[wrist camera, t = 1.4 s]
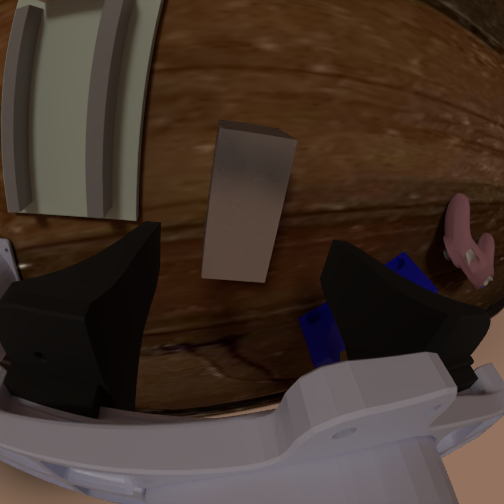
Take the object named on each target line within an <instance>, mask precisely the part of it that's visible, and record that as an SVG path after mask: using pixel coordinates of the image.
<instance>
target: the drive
mask: <svg viewBox="0 0 504 504" xmlns="http://www.w3.org/2000/svg"><path fill="white" fill-rule="evenodd" d="M297 141H298V140H296V139H295V138H293V137H292V136H290V135H288V134H287V133H285V132H284V131H282V130H281V129H279V128H275V127H269V126H263V125H257V124H250V123H243V122H236V121H229V120H221V119H219V123H218V130H217V136H216V143H215V150H214V157H213V164H212V171H211V179H210V187H209V195H208V203H207V212H206V220H205V229H204V239H203V255H202V275H201V278H209V279H222V280H235V281H248V282H263V283H265V279H266V275H267V271H268V267H269V263H270V258H271V254H272V250H273V246H274V242H275V237H276V233H277V229H278V225H279V220H280V216H281V212H282V207H283V203H284V199H285V194H286V190H287V186H288V181H289V177H290V172H291V168H292V163H293V159H294V154H295V150H296V145H297Z"/></svg>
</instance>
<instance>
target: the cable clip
mask: <svg viewBox="0 0 504 504" xmlns="http://www.w3.org/2000/svg"><path fill="white" fill-rule="evenodd" d="M385 266H387V267H388V268H390V269H391V270H393V271H395V272H396V273H398V274H399V275H401V276H403V277H404V278H406V279H408V280H410V281H412V282H414V283H415V284H417V285H419V286H421V287H423V288H425V289H428V290H430V291H432V292H435V293H437V294H438V291H437V288H436V287H435V286H434V285H433V284H432V283H431V281H430V280H429V279H428V278H427V277H426V276H425V274H424V273H423V272H422V271H421V270H420V269H419V268H418V267H417V265H416V264H415V263H414V262H413V261H412V260H411V259H410V258H409V257H408V256H407V255H406V253H405V252H403V253H401V254H400V255H398V256H397V257H395V258H394V259H393V260H391V261H390V262H388V263H387V264H385ZM298 319H299V322H300V325H301V328H302V331H303V334H304V337H305V340H306V343H307V346H308V349H309V352H310V355H311V358H312V361H313V364H314V366H315V367H316V368H318V367H320V366H323V365H328V364H332V363H336V362H340V352H341V351H343V350H345V345H344V342H343V339H342V336H341V334H340V332H339V329H338V327H337V325H336V322H335V320H334V318H333V315H332V313H331V311H330V308H329V306H328V304H327V302H325V303H324V304H322V305H320V306H319V307H317V308H315V309H314V310H312V311H310V312H309V313H307V314H305V315H303V316H302V317H300V318H298Z"/></svg>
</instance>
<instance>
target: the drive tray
mask: <svg viewBox="0 0 504 504" xmlns="http://www.w3.org/2000/svg"><path fill="white" fill-rule="evenodd" d="M163 3H164V0H19V1H18V4H17V8H16V12H15V16H14V20H13V24H12V29H11V33H10V38H9V44H8V50H7V56H6V63H5V71H4V80H3V92H2V112H1V142H2V162H3V174H4V184H5V192H6V200H7V207H8V212H18V213H34V214H50V215H65V216H79V217H93V218H106V219H118V220H130V221H136V220H137V218H138V216H139V178H140V158H141V144H142V132H143V121H144V111H145V103H146V95H147V87H148V80H149V73H150V67H151V61H152V55H153V49H154V44H155V39H156V34H157V29H158V24H159V20H160V15H161V11H162V7H163Z"/></svg>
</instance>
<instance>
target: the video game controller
mask: <svg viewBox="0 0 504 504" xmlns="http://www.w3.org/2000/svg"><path fill="white" fill-rule="evenodd" d="M444 229H445V235H444V237H443V239H444V244H445V247H446V249H444V256H445V258H446V259H447V260H448V261H450V258H451V260H452V262H453V263H454V265H455V266H456V267H457V268H461V269H462V270H463V272H464V273H465V275H466V276H467V278H468V279H469V280H470V281H471V283H472V284H473V286H474V287H475V289H481V288H483V287H484V286H486V285H487V284H488V282H489V281H490V280H492V281H493V279H492V276H493V274H494V270H493V258H494V240H493V237H492V236H491V235H490V234H489V233H483V234H482V235H481V236H480V238H479V239H478V241H477V244H476V243H475V242H474V240H473V239H472V237H471V234H470V205H469V202H468V198H467V197H466V196H465V195H464V194H462V193H458V194H455V195H454V196H453V197H452V199H451V200H450V202H449V204H448V207H447V210H446V214H445V227H444Z"/></svg>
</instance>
